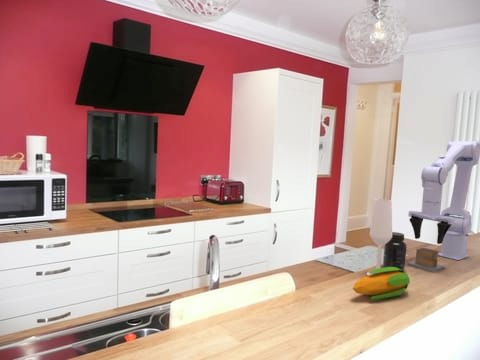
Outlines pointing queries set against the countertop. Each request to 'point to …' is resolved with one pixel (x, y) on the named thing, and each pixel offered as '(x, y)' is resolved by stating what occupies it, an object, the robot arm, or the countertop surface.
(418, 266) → the slate coaster
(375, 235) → the champagne flute
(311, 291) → the countertop surface
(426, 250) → the walnut cube
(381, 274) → the corn
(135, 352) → the countertop surface
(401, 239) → the supplement bottle
